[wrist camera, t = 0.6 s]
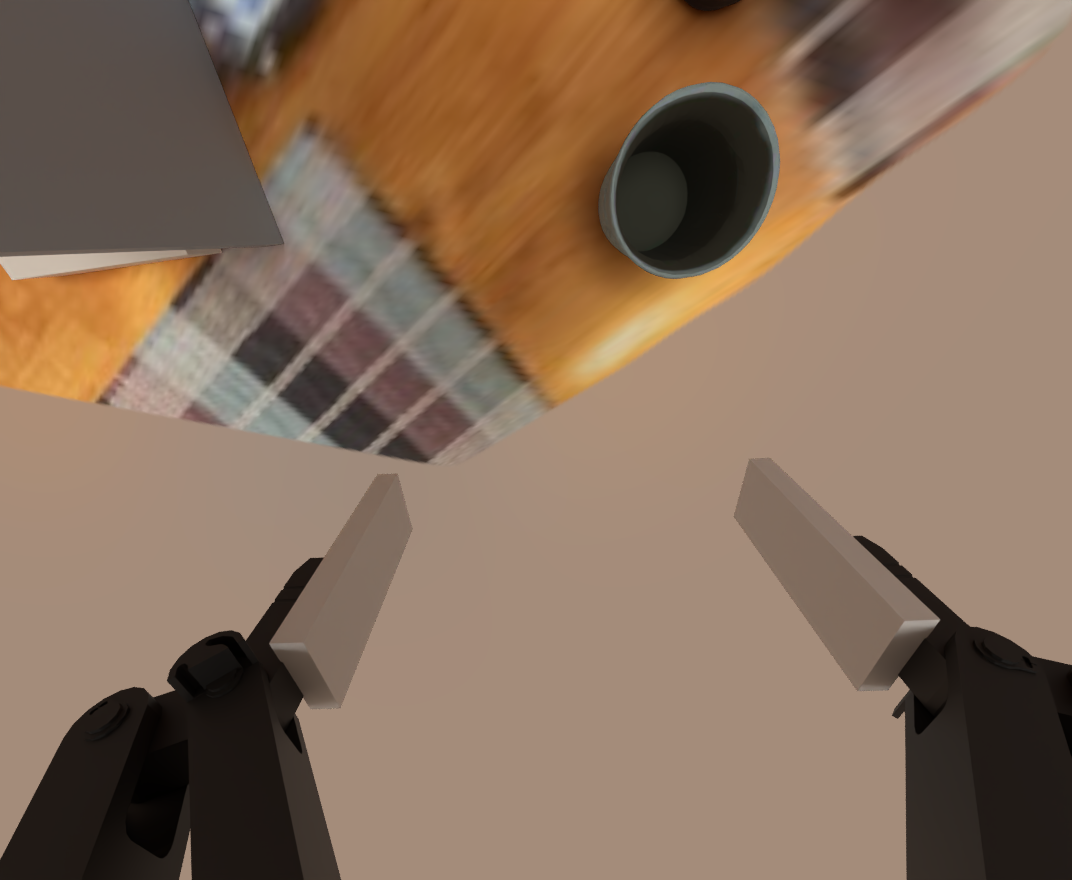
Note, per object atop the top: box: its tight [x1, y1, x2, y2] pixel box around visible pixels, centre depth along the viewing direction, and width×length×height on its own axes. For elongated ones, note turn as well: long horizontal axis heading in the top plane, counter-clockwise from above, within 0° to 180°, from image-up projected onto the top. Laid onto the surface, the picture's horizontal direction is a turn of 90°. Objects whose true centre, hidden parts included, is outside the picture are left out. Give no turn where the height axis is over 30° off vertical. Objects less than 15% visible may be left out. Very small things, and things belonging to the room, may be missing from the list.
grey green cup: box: [598, 82, 780, 279], centre depth 28 cm, size 10×10×12 cm
